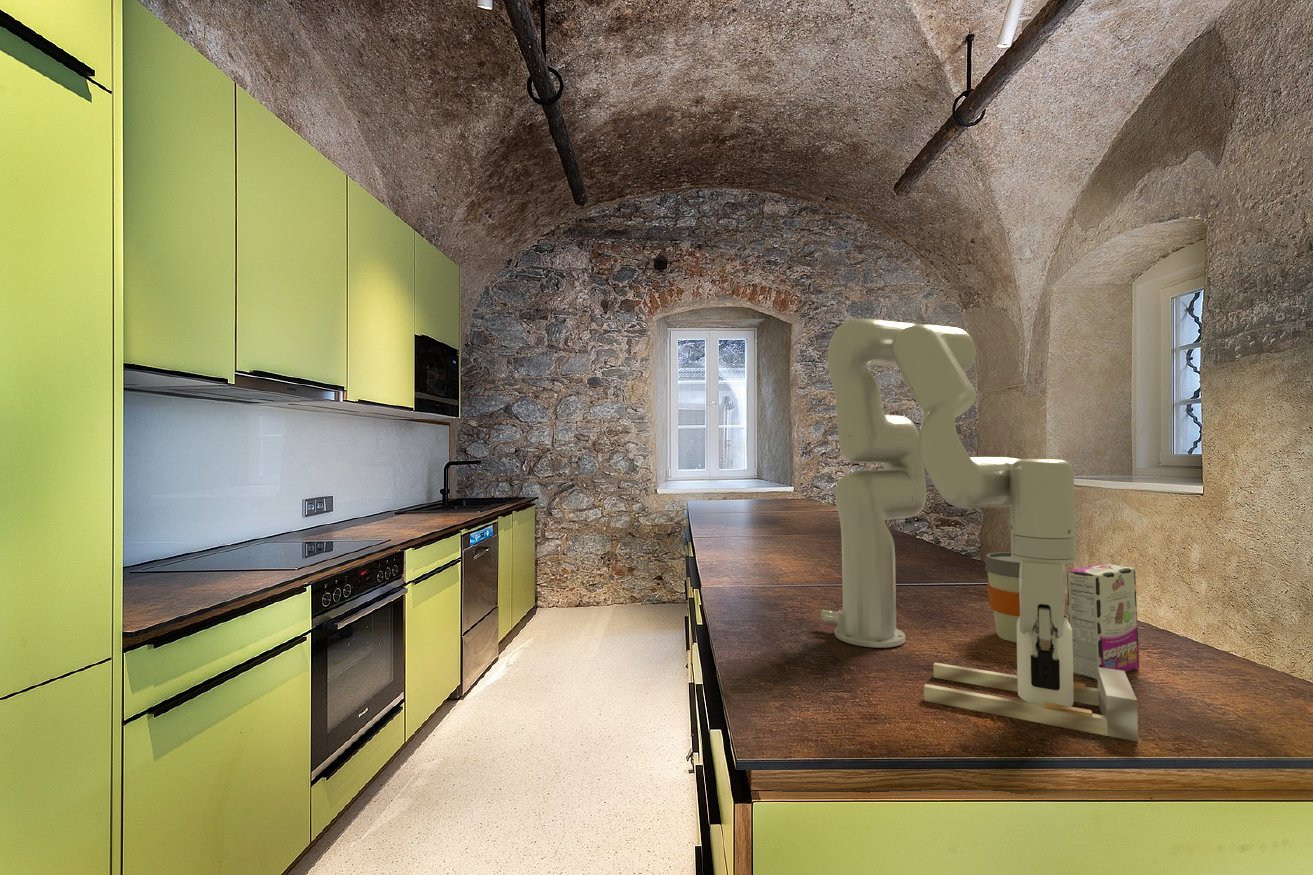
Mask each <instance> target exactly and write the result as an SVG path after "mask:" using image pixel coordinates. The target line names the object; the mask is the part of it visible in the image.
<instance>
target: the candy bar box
mask: <svg viewBox="0 0 1313 875" xmlns="http://www.w3.org/2000/svg"><path fill="white" fill-rule="evenodd" d="M1066 581H1067V583H1066V586H1067V607H1068V608H1067V609H1068V622H1069V624H1070V626H1071V628H1072V649H1073V675H1074V674H1075V675H1077V676H1080V675H1081V676H1080V677H1085V678H1087V679H1090V680H1095V681H1098V668H1097V667H1101V668H1108V669H1115V670H1122V671H1125V674H1126V675H1127V674H1129V673H1132V672H1135V671H1137V670H1140V668H1141V667H1140V654H1139V653H1140V652H1139V649H1140V648H1139V631H1138V630H1139V627H1138V626H1139V625H1138V605H1137V582H1136V581H1137V580H1136V568H1135V567H1130V566H1126V565H1125V566H1124V565H1118V564H1111V563H1101V564H1096V565H1091V566H1085V567H1079V568H1076V569H1071V570H1066Z"/></svg>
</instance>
